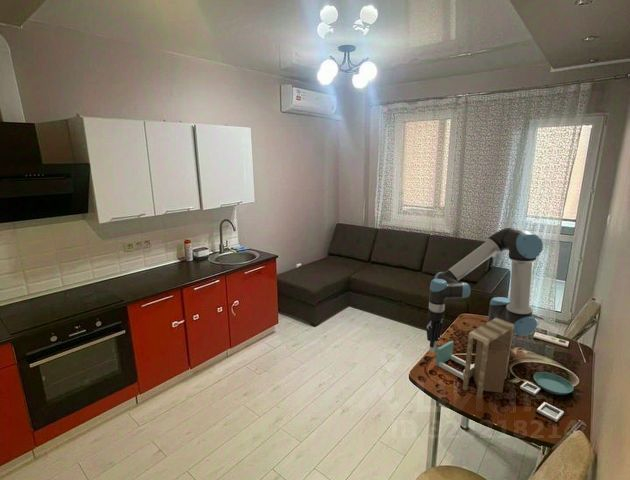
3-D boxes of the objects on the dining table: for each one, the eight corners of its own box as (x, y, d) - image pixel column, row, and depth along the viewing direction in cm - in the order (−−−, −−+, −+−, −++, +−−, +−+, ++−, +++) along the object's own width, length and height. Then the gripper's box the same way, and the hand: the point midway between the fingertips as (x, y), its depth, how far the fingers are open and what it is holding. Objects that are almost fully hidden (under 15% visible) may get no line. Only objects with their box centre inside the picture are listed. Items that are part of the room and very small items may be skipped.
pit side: (525, 383, 155) (526, 380, 155) (540, 390, 150) (541, 387, 150) (519, 388, 151) (520, 386, 151) (534, 395, 147) (535, 393, 146)
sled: (449, 356, 175) (451, 340, 173) (479, 371, 163) (481, 354, 161) (435, 364, 168) (436, 348, 166) (465, 381, 156) (467, 363, 154)
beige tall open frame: (489, 369, 165) (496, 317, 158) (506, 378, 158) (514, 324, 152) (462, 388, 151) (468, 332, 145) (480, 398, 145) (487, 340, 138)
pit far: (543, 404, 142) (544, 401, 141) (563, 414, 136) (564, 411, 136) (536, 411, 138) (537, 409, 137) (556, 422, 132) (557, 419, 132)
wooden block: (502, 393, 148) (508, 352, 144) (478, 390, 150) (483, 349, 145) (495, 379, 158) (501, 340, 153) (472, 376, 160) (477, 337, 155)
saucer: (568, 381, 156) (569, 376, 156) (576, 402, 143) (577, 396, 143) (530, 373, 162) (531, 368, 161) (535, 392, 149) (536, 387, 148)
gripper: (437, 303, 177) (434, 344, 183) (421, 310, 170) (418, 352, 175) (450, 308, 171) (446, 350, 177) (434, 316, 164) (431, 359, 169)
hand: (432, 351), depth 176 cm, fingers closed
